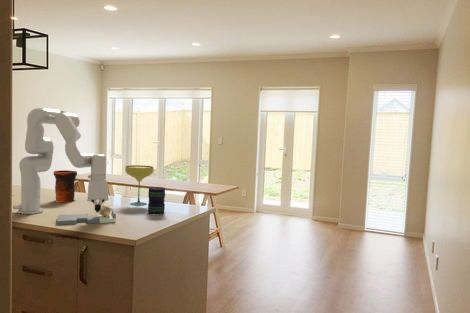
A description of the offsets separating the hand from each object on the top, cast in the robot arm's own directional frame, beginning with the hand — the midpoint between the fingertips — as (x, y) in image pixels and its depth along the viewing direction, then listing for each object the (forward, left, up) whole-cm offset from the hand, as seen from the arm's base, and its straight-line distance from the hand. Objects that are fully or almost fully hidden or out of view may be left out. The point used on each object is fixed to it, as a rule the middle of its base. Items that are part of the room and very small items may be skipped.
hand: (97, 211), depth 201 cm
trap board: (-5, 0, -5) cm, 7 cm away
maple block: (+3, -1, -2) cm, 4 cm away
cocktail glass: (+28, +41, -5) cm, 50 cm away
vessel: (-17, +60, -5) cm, 63 cm away
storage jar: (+34, +12, -5) cm, 36 cm away
